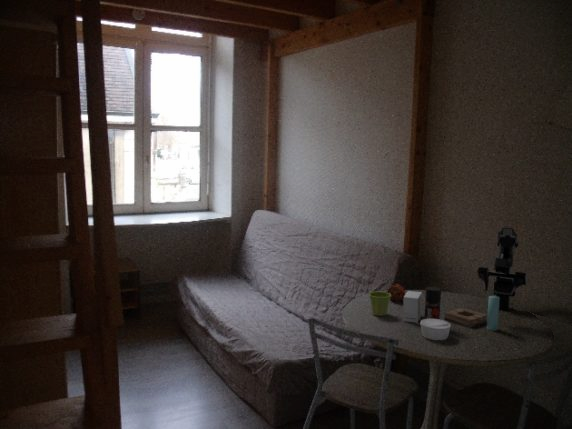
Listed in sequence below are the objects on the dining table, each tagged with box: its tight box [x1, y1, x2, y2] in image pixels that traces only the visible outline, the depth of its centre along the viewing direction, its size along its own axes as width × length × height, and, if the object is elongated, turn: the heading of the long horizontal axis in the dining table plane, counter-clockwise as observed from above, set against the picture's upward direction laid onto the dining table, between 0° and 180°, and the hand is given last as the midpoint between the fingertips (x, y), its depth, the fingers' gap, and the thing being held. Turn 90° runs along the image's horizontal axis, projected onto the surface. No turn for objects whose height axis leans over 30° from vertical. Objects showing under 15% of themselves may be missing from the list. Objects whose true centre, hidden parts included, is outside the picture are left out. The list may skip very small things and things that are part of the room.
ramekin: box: [419, 319, 451, 341], centre depth 198 cm, size 11×11×5 cm
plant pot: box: [368, 291, 391, 317], centre depth 224 cm, size 9×9×9 cm
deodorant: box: [423, 286, 442, 320], centre depth 211 cm, size 6×6×15 cm
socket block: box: [444, 307, 488, 328], centre depth 217 cm, size 12×12×3 cm
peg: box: [486, 295, 500, 332], centre depth 207 cm, size 4×4×13 cm
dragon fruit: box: [385, 283, 406, 303], centre depth 246 cm, size 8×8×12 cm
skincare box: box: [402, 290, 423, 324], centre depth 219 cm, size 10×6×10 cm, turn 157°
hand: (498, 292), depth 213 cm, fingers open, 9 cm apart
